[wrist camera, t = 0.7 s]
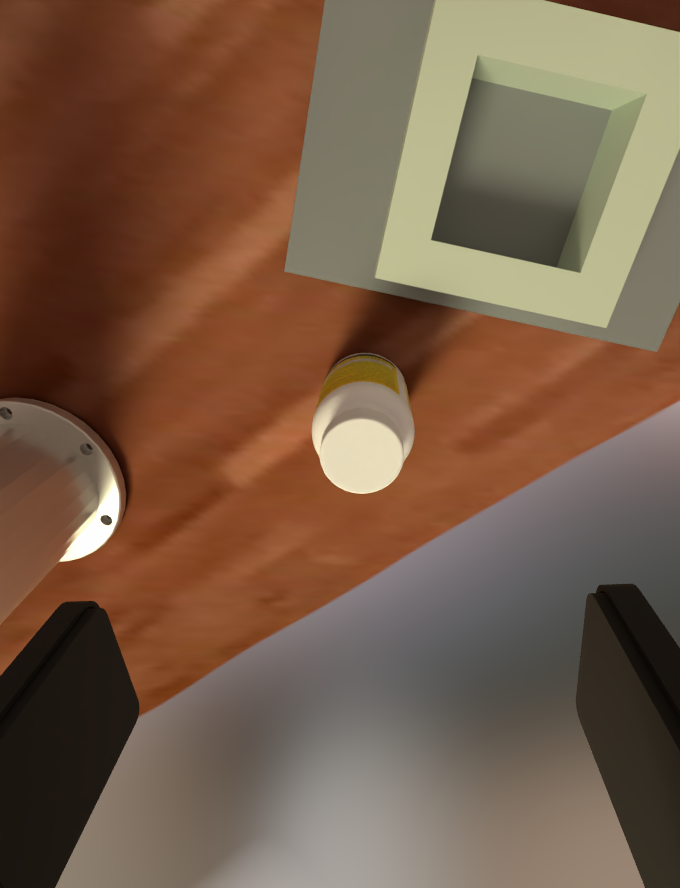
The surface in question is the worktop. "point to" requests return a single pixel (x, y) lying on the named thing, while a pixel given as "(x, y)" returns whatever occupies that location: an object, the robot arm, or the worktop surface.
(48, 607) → the worktop surface
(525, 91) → the socket board
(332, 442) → the supplement bottle
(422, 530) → the worktop surface
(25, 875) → the robot arm
